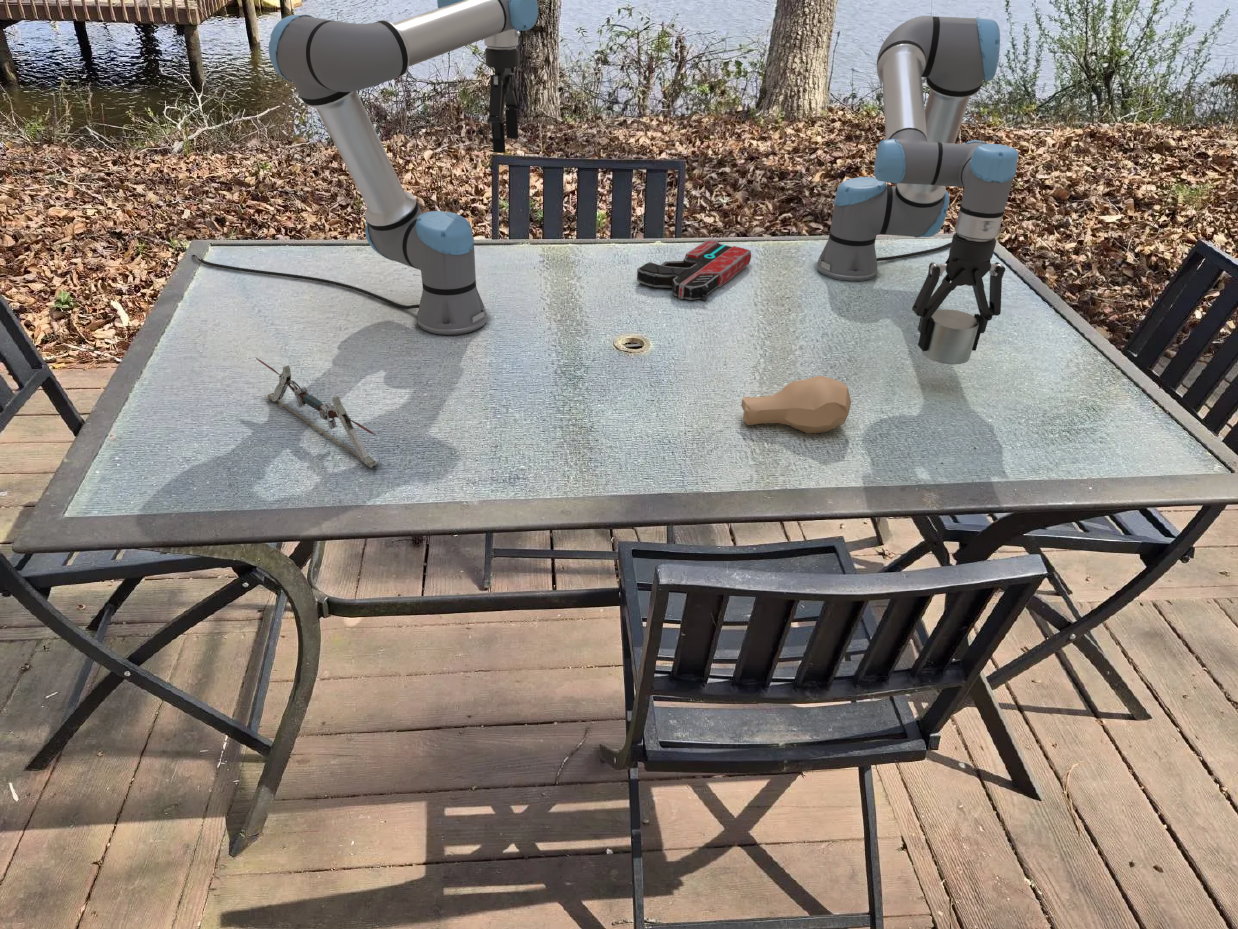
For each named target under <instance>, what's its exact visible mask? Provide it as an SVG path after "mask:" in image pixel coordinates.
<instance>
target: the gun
mask: <svg viewBox="0 0 1238 929" xmlns="http://www.w3.org/2000/svg"><path fill="white" fill-rule="evenodd" d="M751 259H752V251H751V250H750V249H747V248H743V247H739V246H736V245H733V246H731V245H728V244H722V243H719V241H718V240H714V239H713V240H712V239H706V240H705V241H704V242H702V243H700V244H699V245H697V246H696V247H694V248H692V249H691V250H689V251H688V252H687V253H685V255H684V258H683V260H667V261H664V262H662V263H660V264H657V263H655V262H652V261H648V262H646V263H645V264H643V265H641V266H639V267H637V269H636V270H637V271H636V282H638V283H640V284H642V285H646V286H649V287H653V288H670V289H671V292H672V294H673V296H675V297H678V299H679V300H684V299H685V300H689V301H693V300H703V301H707V300H708V295H709V294H711V293H712V292H713V291H715V290H716V289H717V288H721V287H722V286H724V285H725V284H726V283H727V282H729V281H730V280H732V279H733V278H734V277H735V276H737V275H738V274H739V273H740V272H741V271H743V270H744V269H745V268H746V267H747V266H748V265H750V263H751Z"/></svg>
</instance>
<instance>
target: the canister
mask: <svg viewBox="0 0 1238 929" xmlns="http://www.w3.org/2000/svg"><path fill="white" fill-rule="evenodd" d="M931 317H932V318H933V319H934V323H933V327H932V331H931V335H930V339H929V344H928V348H927V351H922V350H921V354H922V355H923V356H924V357H925V358H927V359H929V360H931V361H933V362H936V363H940V364H944V365H962V364H965V363H968V362H969V361H970V359H971V356H972V352H973V351H972V348H973V345H974V341H975V337H976V334H977V330H978V326H979V321H978V319H977V318H976V317H974V315H972V314H970V313H967V312H966V311H961V310H956V309H945V308H944V309H937V310H936V311H935V313H934V314H933V315H932V316H931Z"/></svg>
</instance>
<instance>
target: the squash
mask: <svg viewBox="0 0 1238 929" xmlns="http://www.w3.org/2000/svg"><path fill="white" fill-rule="evenodd" d="M851 399H852V398H851V394H850V391H849V388H848V386H847V385H846V384H845V383H844V382H843V381H840V380H837V379H834V378H831V377H827V376H823V375H816V376H813V377H809V378H805V379H800V380H793V381H791V382H789V383H788V384H786V385H785V386H784V387H783V388H782V389H781V390H780V391H778V392H776V393H774V394H773V395H765V396H745V397H743V398H742V399H741V404H740V406H741V409H742V411H743V417H742V418H743V420H744V423H745V424H746V425H747V426H751V425H759V424H774V423H776V424H781V425H786V426H789V427H792V428H793V429H795V430H797V431H801V432H803V433H806V434H823V433H828V432H830V431H832V430H834V429H836V428H838V427H840V426H842V425H844V424H846V422H847V418H848V416H849V414H850V410H851V405H852V400H851Z"/></svg>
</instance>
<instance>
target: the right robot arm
mask: <svg viewBox="0 0 1238 929" xmlns="http://www.w3.org/2000/svg"><path fill="white" fill-rule="evenodd" d="M1000 50H1001V31H1000V26H999V24H998V22H997V21H996V20H994V19H988V18H980V17H979V16H976V17H960V16H959V17H956V16H933V15H920V16H915V17H913V18H910V19H908V20H906V21H904V22H903V23H901V24H899V25H898V26H897V27H896V28H894V29H893V30H892V31H891V32H890V33H889V34H888V36H887V37H886V38H885V40H884V41H883V43H882V44H881V46H880V48H879V51H878V53H877V58H876V73H877V77H878V80H879V81H880V82H881V83H882V95H883V114H884V115H883V117H884V133H885V139H882V140H881V141H879V143H878V145H877V148H876V151H875V152H876V153H875V157H874V166H873V167H874V168H873V174H874V176H859V177H853V178H849V179H847V180H844V181H842V182H841V183H840V184H839V185H838V186H837V189H836V193H835V198H834V200H833V210H832V217H831V221H830V229H829V235H828V240H827V241H826V244H825V246H824V247H823V249H822V251H821V253H820V255H819V257H818V260H817V264H816V269H817V271H818V272H820V274H822V275H824V276H825V277H828V278H830V279H834V280H838V281H845V282H862V281H863V282H864V281H868V280H871V279H874V278H875V277H876V276H877V272H878V262H883V261H892V260H899V259H904V258H905V259H906V258H909V257H915V256H920V255H925V254H931V253H934V252H939V251H941V250H944V249H947V248H949V251H948V252H949V253H948V257H947V259H946V260H945V262H944V263H936V262H933V261H932V262H930V263H929V264H928V272H927V275H926V278H925V279H924V282H923V284H922V285H921V286H922V287H921V288H920V291H919V292H918V295H917V297H916V299H915V300H914V304H913V305H912V308H911V310H912V312H913V313H914V314H915V315H916V316H917V317H919V321H918V326H917V331H918V333H919V334H920V335H919V338H918V344H917V346H918V347H919V348H920V349H921V352H922V351H927V348H928V344H929V339H930V335H931V331H932V327H933V323H934V319H933V318H932V317H931V316H932V315H933V314H934V313H935V311H936V310H939V307H940V306H941V305H942V304H943V302H945V300H946V299H947V297H948V296H949V295H950V293H951V292H952V291H954V290H955V289H956V288H957V287H962V286H968V287H972V290H973V294H974V297H975V301H976V305H977V308H978V312H979V313H974V315H973V316H974V317H976V318H977V319H978V321H979V326H978V330H977V334H976V337H975V341H974V345H973V348H972V352H973V351H974V352H975V351H977V348H978V345H979V341H980V337H981V334H984V333H985V331H986V329H987V325H988V322H989V321H991V320H992V319H993V317H994V316H996V317H997V316H998V317H999V316H1000V315H1001V314H1002V313H1001V312H1002V288H1003V287H1002V286H1003V278H1004V275H1005V272H1006V267H1005V266H1004V265H1002V264H1001V263H1000V262H999V261H998V262H997V261H996V262H994V263H991V262H992V258H993V256H994V252H995V248H996V245H997V240H996V238H997V237H998V236H999V233H1000V229H1001V224H1002V222H1003V218H1004V214H1005V210H1006V207H1007V203H1008V199H1009V196H1010V193H1011V189H1012V185H1013V181H1014V178H1015V176H1016V174H1017V170H1018V169H1017V167H1018V162H1019V161H1018V160H1019V156H1020V155H1019V151H1018V150H1017V149H1016V148H1014V147H1010V146H1009V145H1005V144H999V143H987V142H984V141H983V140H978V139H972V140H968V141H966V142H964V143H956V140H957V138H958V134H959V131H960V129H961V125H962V123H963V120H964V117H965V114H966V111H967V107H968V105H969V102H970V98H971V97H972V96H973V97H974V95H976V94H978V93H979V92H980V90H981V88H982V85H983V82H989V81H992V80H993V79H994V77H995V76H996V73H997V69H998V65H999V58H1000ZM923 78H925V83H926V86H927V88H929V93H928V95H927V96H928V97H927V100H926V105H925V100H924V98H925V97H924V89H923V88H924V87H923V86H924V85H923ZM887 183H892V184H895V185H896V186H893V185H892V186H891V185H887ZM947 187H955V188H963V194H962V198H961V202H960V207H959V210H958V213H957V218H956V222H955V225H954V226H955V227H954V232H955V233H953V235H952V238H951V242H949V243H946V244H944V245H941V246H938V247H935V248H930V249H925V250H920V251H915V252H909V253H904V254H898V255H892V256H891V255H890V256H881V257H877V252H876V240H877V236H878V235H884V236H885V235H887V236H898V237H899V236H900V237H913V238H917V239H918V238H931V237H934V236H935V235H937V234H938V233H939V231H940V230H941V229H942V227H943V225H944V223H945V220H946V218H947V215H948V214H947V213H948V210H949V207H950V206H949V205H950V193H949V192H948V191H947ZM944 272H946V274H945V275H944V277H943V278H942V280H941V283H940V285H939V286H938V287H937V285H938V283H939V281H940V277H942V276H943V273H944ZM987 274H989V293H988V294H989V297H988V298H989V299H987V296H986V295H987V294H986V290H985V283H984V281H983V278H984V276H986V275H987ZM936 287H937V289H936ZM988 300H989V301H988Z"/></svg>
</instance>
